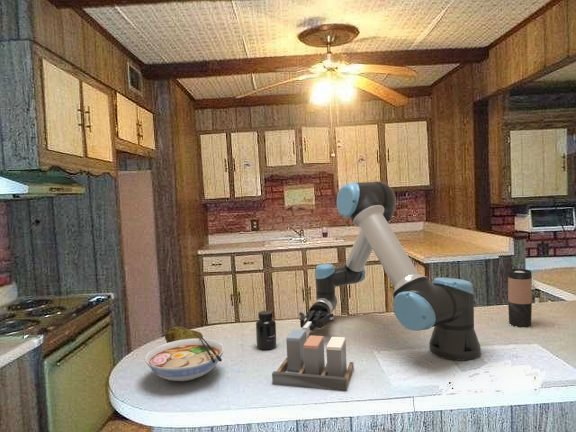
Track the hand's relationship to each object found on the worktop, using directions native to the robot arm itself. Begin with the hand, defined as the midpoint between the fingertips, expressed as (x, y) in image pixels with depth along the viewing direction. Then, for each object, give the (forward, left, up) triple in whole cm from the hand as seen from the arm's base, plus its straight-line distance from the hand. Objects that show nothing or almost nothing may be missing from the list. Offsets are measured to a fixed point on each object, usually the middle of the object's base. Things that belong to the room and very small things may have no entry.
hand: (305, 331), depth 140 cm
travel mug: (-61, -54, -7) cm, 82 cm away
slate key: (-2, +10, -7) cm, 13 cm away
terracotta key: (-10, +14, -7) cm, 18 cm away
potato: (+41, +12, -7) cm, 43 cm away
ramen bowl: (+25, +29, -7) cm, 39 cm away
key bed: (-10, +15, -7) cm, 19 cm away
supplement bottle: (+15, 0, -7) cm, 16 cm away
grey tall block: (-16, +12, -7) cm, 21 cm away
